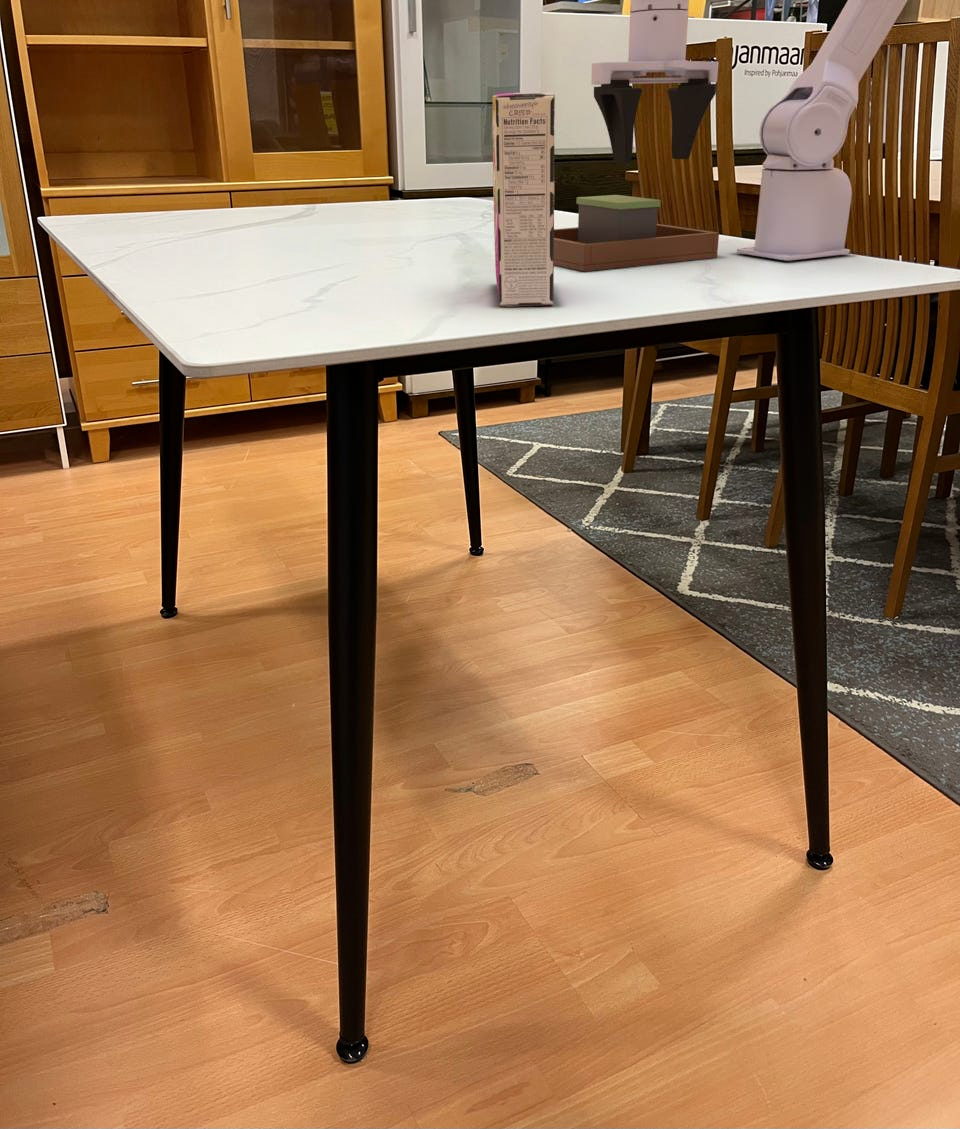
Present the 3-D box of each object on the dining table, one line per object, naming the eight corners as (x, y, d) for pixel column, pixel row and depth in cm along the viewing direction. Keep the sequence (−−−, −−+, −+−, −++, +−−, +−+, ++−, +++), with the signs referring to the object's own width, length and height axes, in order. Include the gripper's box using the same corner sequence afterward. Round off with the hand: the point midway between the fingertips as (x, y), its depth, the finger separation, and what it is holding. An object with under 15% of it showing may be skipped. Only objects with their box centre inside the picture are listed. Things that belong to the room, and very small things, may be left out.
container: (614, 245, 111) (616, 194, 109) (657, 253, 105) (661, 200, 102) (574, 248, 109) (576, 197, 107) (616, 257, 102) (618, 202, 100)
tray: (641, 244, 116) (643, 221, 115) (717, 257, 105) (719, 232, 104) (516, 256, 109) (516, 232, 108) (583, 271, 98) (584, 245, 97)
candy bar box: (493, 285, 91) (491, 93, 84) (545, 284, 91) (548, 92, 84) (495, 307, 81) (493, 91, 74) (554, 306, 81) (558, 90, 74)
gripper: (623, 7, 89) (617, 165, 95) (743, 10, 95) (730, 158, 101) (580, 13, 95) (578, 162, 101) (696, 16, 101) (687, 156, 107)
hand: (651, 160), depth 101 cm, fingers open, 7 cm apart
